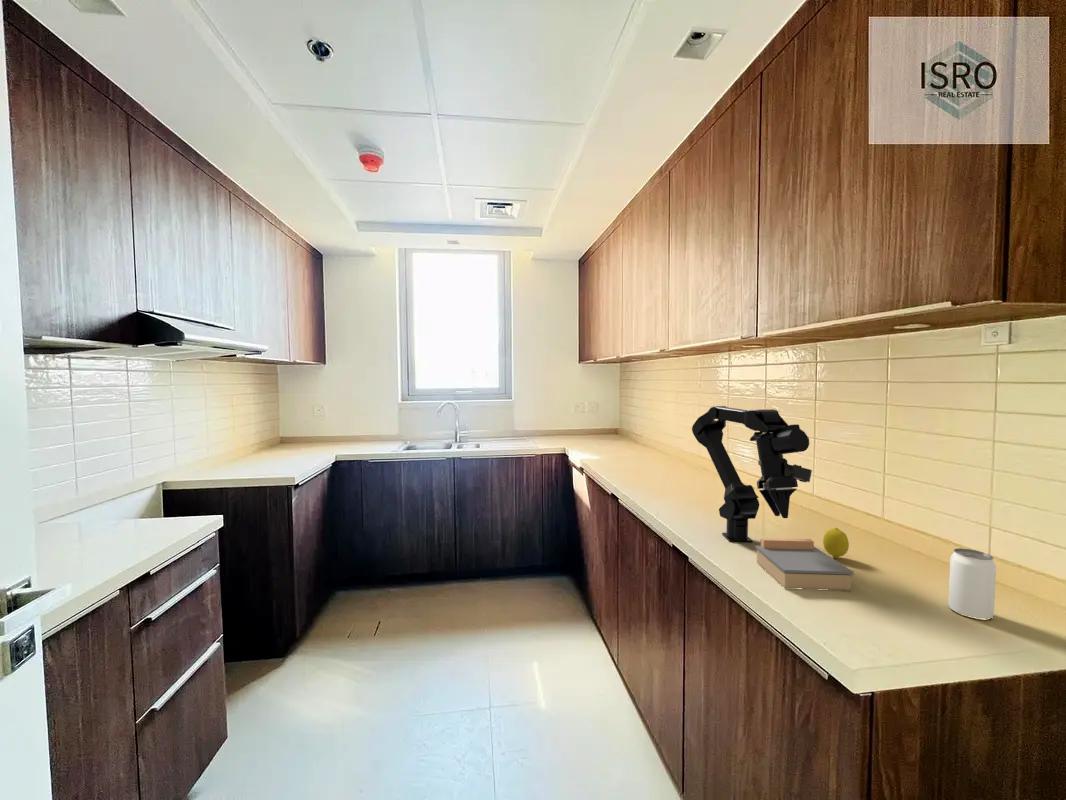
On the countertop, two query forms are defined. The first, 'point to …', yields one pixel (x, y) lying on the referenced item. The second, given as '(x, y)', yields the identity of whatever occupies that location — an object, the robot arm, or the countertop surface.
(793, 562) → the lid
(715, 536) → the countertop surface
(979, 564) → the can
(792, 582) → the box
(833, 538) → the lemon
